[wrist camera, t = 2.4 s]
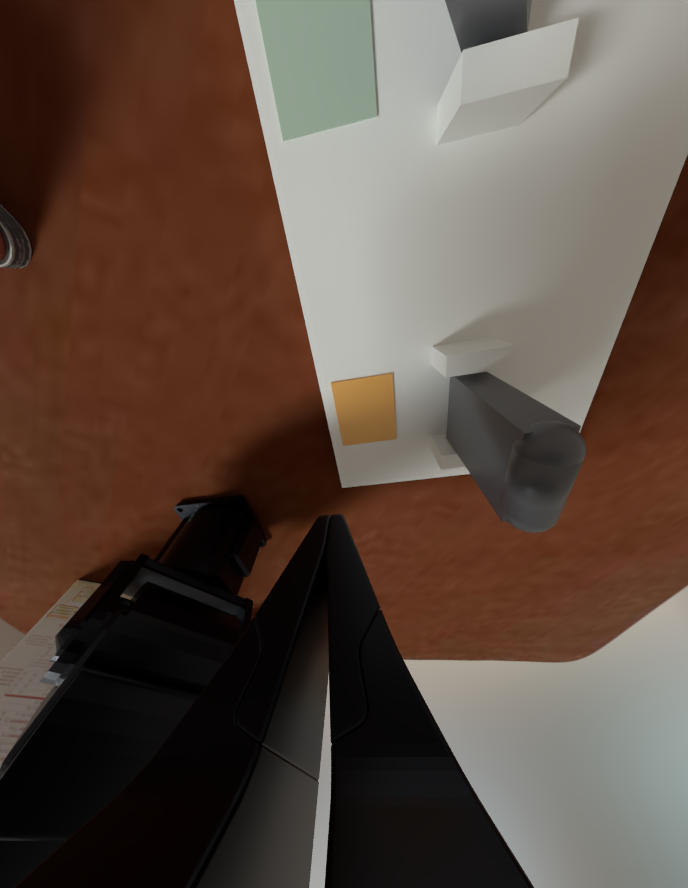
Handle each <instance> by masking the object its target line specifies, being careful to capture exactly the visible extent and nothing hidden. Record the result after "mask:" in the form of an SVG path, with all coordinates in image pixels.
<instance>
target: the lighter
mask: <svg viewBox="0 0 688 888" xmlns="http://www.w3.org/2000/svg"><path fill="white" fill-rule="evenodd" d="M31 253H32V250H31V246H30V242H29V239H28V237H27V235H26V233H25V231H24V229H23V228H22V227H21V226H20V224H19V223H18V222H17V221H16V219H15V218H14V217H13V216H12V215H11V214H10V213H9V212H8V211H7V210H6V209H5V208H4V207H3V206H2V205H1V204H0V267H8V268H23V267H25V266H27V265H28V263H29V262H30V260H31Z"/></svg>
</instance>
